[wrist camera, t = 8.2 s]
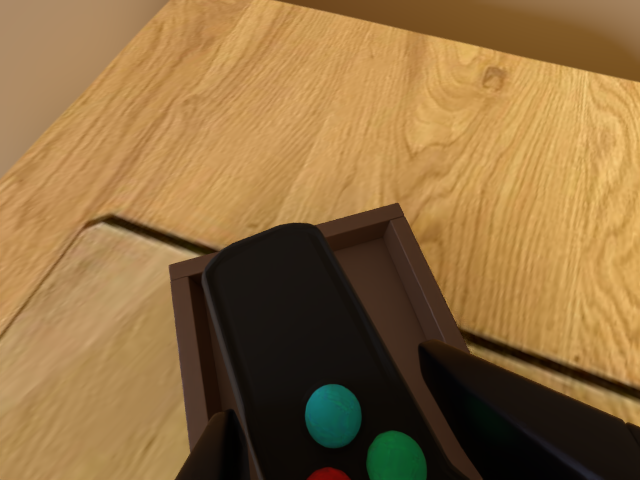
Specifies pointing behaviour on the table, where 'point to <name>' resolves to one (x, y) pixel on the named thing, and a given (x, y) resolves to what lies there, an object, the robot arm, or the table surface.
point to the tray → (375, 294)
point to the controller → (313, 366)
